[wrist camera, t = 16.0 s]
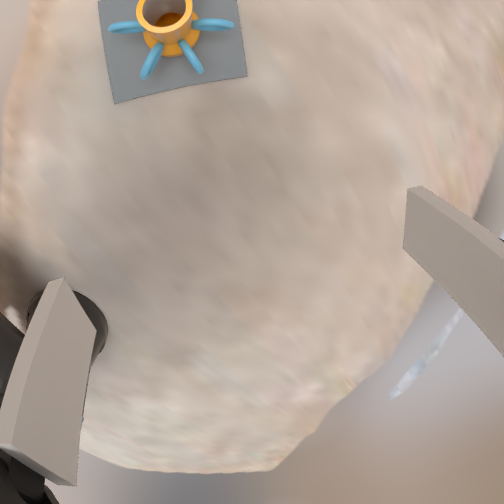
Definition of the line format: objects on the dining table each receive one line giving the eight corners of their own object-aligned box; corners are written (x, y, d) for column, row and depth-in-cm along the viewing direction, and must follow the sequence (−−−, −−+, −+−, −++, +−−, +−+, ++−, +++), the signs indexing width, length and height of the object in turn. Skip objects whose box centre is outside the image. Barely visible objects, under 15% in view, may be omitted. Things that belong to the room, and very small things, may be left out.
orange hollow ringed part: (239, 52, 32) (270, 39, 19) (162, 97, 33) (145, 111, 20) (188, -25, 25) (190, -77, 12) (110, 21, 26) (66, -5, 14)
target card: (115, 103, 32) (114, 104, 32) (98, 2, 25) (97, 1, 24) (246, 76, 34) (247, 76, 33) (231, -25, 26) (232, -27, 26)
